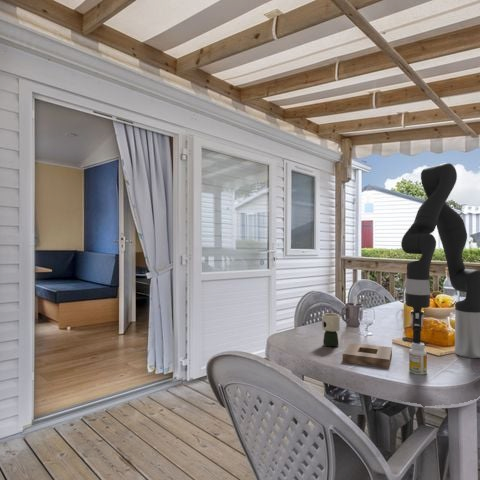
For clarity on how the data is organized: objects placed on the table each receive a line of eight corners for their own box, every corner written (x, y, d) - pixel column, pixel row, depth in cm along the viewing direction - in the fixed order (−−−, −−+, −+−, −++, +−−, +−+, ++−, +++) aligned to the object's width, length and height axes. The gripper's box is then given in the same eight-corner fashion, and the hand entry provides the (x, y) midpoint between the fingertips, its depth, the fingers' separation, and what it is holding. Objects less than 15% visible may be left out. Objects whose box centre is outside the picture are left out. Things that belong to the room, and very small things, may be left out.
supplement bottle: (421, 369, 132) (421, 341, 132) (429, 374, 127) (430, 345, 127) (406, 369, 132) (406, 341, 132) (413, 375, 127) (414, 345, 126)
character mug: (320, 341, 166) (320, 312, 166) (337, 342, 165) (337, 312, 165) (323, 349, 155) (323, 317, 155) (341, 349, 155) (341, 317, 154)
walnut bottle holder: (391, 355, 148) (391, 347, 148) (389, 368, 133) (389, 359, 133) (349, 350, 154) (349, 342, 154) (342, 361, 140) (342, 353, 140)
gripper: (430, 296, 121) (429, 347, 121) (429, 290, 134) (428, 336, 134) (404, 294, 124) (403, 343, 124) (406, 289, 137) (405, 334, 137)
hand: (416, 340), depth 129 cm, fingers open, 8 cm apart
